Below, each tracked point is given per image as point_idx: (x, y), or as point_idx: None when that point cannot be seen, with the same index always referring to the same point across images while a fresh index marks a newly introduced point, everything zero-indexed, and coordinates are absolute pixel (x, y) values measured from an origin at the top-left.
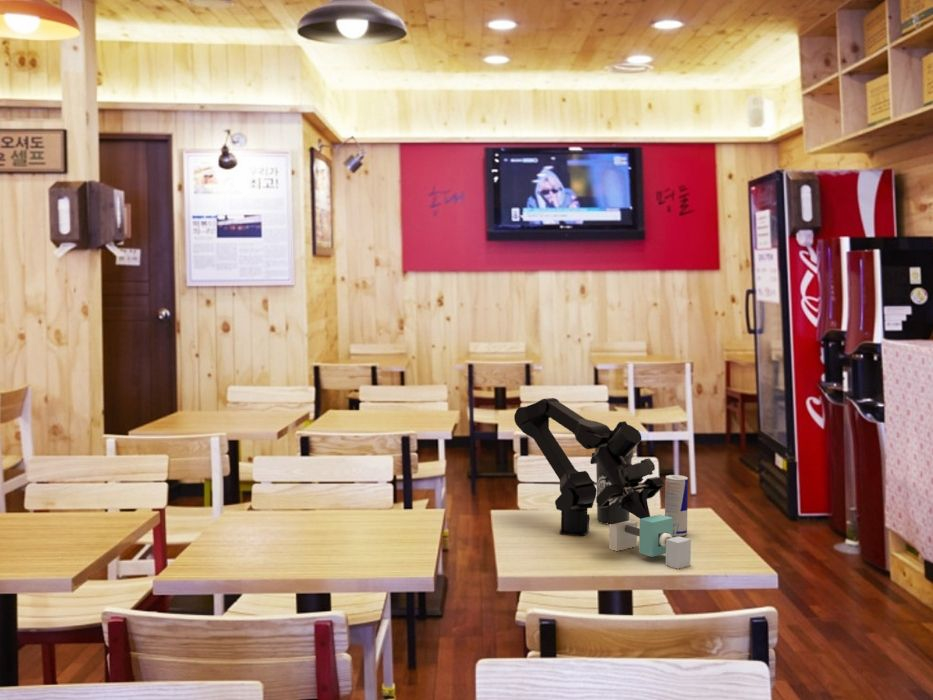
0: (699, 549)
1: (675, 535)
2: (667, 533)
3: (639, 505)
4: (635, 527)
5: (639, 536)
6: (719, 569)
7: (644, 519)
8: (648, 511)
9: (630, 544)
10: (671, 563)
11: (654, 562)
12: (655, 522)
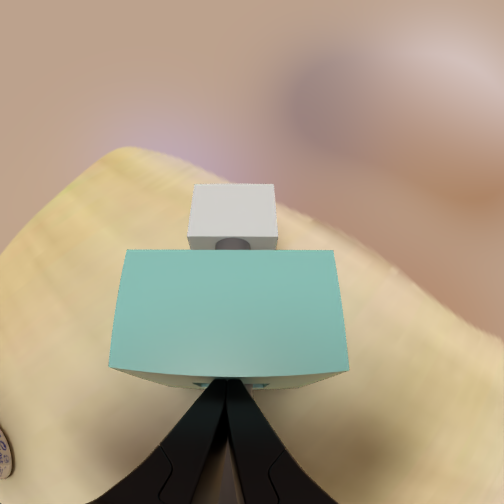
0: (48, 322)
1: (5, 438)
2: None
3: (284, 472)
4: (231, 488)
5: (314, 382)
6: (174, 186)
7: (330, 338)
8: (192, 417)
9: None
10: None
11: None
12: (305, 253)
